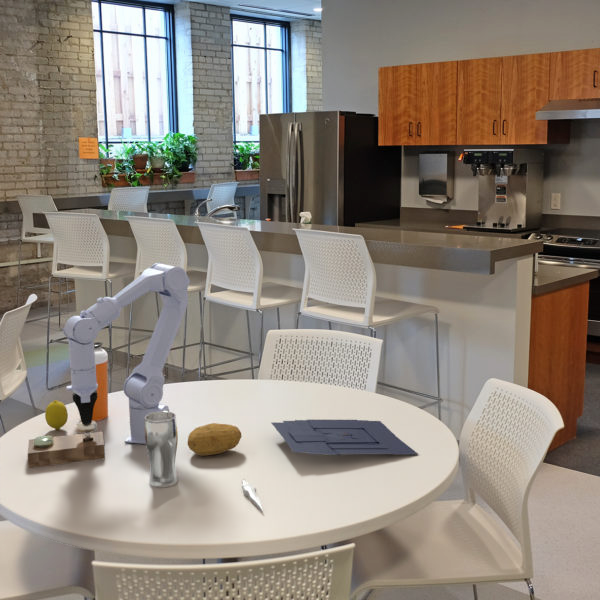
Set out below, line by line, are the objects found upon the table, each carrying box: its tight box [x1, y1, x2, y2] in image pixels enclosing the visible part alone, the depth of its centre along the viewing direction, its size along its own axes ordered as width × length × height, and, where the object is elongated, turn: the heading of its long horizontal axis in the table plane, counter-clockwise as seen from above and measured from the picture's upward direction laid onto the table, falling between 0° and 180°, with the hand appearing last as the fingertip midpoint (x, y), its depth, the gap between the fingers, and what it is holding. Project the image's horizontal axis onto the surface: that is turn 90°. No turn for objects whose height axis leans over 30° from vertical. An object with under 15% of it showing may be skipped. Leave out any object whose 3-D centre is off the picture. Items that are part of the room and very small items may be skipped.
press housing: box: [27, 431, 106, 469], centre depth 191 cm, size 17×9×4 cm, turn 106°
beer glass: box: [145, 411, 179, 488], centre depth 175 cm, size 7×7×15 cm
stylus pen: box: [241, 478, 264, 512], centre depth 167 cm, size 15×3×2 cm, turn 19°
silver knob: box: [76, 421, 98, 442], centre depth 192 cm, size 4×4×4 cm
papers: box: [271, 419, 419, 456], centre depth 196 cm, size 24×30×4 cm
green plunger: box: [33, 435, 54, 448], centre depth 190 cm, size 4×4×4 cm
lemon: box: [44, 399, 69, 431], centre depth 209 cm, size 6×6×8 cm
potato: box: [187, 422, 242, 456], centre depth 192 cm, size 9×13×7 cm
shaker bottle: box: [92, 341, 109, 422], centre depth 217 cm, size 9×9×20 cm
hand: (86, 422), depth 192 cm, fingers closed
